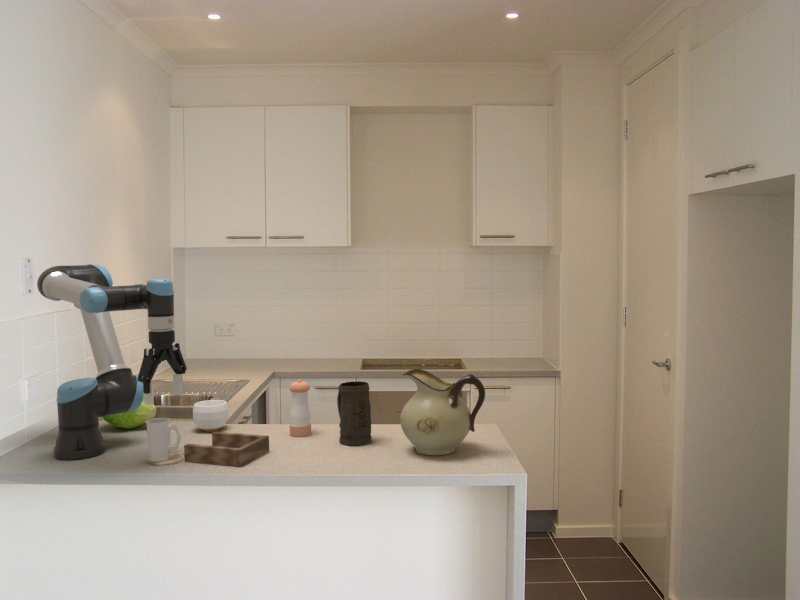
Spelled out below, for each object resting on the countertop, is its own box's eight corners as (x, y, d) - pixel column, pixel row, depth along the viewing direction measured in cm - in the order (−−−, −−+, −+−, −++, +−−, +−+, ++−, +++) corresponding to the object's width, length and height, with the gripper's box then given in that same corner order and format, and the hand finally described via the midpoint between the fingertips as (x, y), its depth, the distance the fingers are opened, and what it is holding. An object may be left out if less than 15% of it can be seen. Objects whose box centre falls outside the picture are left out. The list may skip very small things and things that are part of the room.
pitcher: (389, 445, 226) (388, 369, 224) (454, 437, 235) (453, 363, 233) (418, 464, 205) (417, 380, 204) (488, 454, 215) (487, 374, 213)
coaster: (142, 463, 210) (142, 462, 210) (163, 454, 220) (163, 452, 220) (170, 466, 207) (170, 464, 207) (190, 457, 216) (190, 455, 216)
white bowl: (236, 427, 253) (235, 401, 252) (212, 435, 242) (211, 408, 241) (210, 424, 258) (209, 398, 258) (185, 432, 247) (184, 405, 247)
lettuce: (137, 440, 245) (135, 400, 242) (91, 430, 252) (89, 391, 249) (167, 424, 261) (166, 385, 257) (124, 415, 267) (122, 377, 264)
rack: (184, 461, 212) (184, 445, 212) (215, 446, 228) (215, 431, 227) (241, 466, 206) (241, 450, 205) (269, 451, 222) (268, 435, 221)
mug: (144, 462, 210) (142, 423, 209) (153, 455, 216) (151, 417, 216) (177, 462, 209) (176, 422, 209) (185, 455, 216) (183, 417, 215)
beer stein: (380, 441, 231) (376, 381, 231) (356, 448, 223) (352, 386, 223) (348, 436, 241) (344, 379, 241) (325, 443, 234) (321, 383, 233)
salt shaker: (297, 438, 237) (296, 382, 236) (286, 434, 242) (284, 379, 241) (315, 434, 242) (314, 379, 240) (303, 430, 247) (302, 376, 246)
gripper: (144, 335, 198) (147, 409, 199) (196, 325, 221) (198, 391, 223) (122, 334, 200) (125, 407, 202) (176, 325, 224) (179, 390, 225)
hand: (164, 399), depth 212 cm, fingers open, 13 cm apart
